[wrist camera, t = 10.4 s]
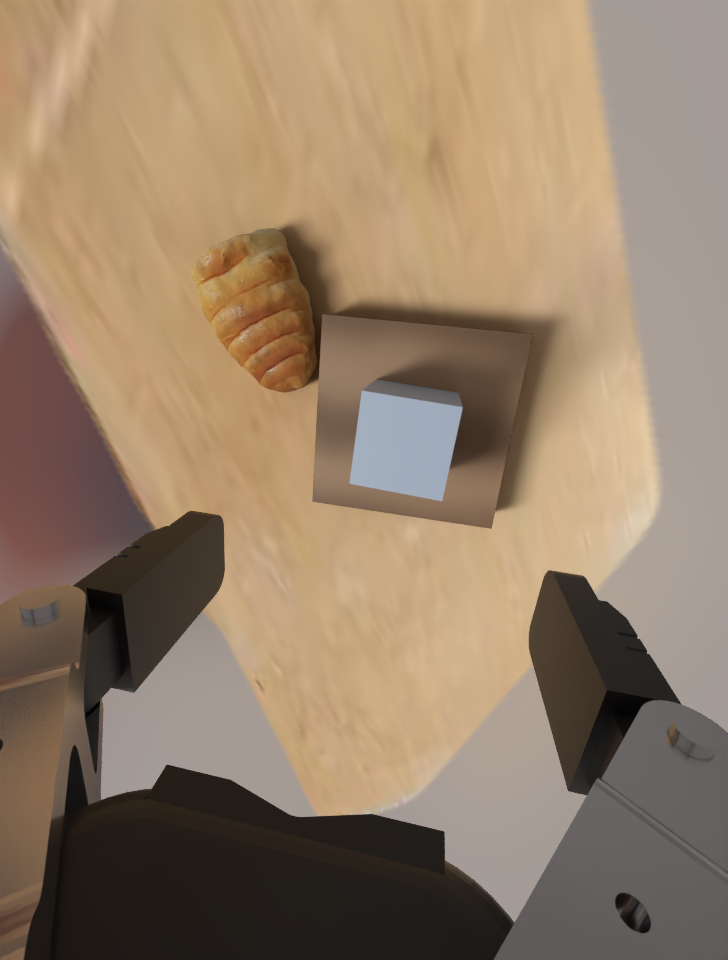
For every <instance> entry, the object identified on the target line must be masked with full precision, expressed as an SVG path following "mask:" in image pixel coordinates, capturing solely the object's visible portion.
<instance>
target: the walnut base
mask: <svg viewBox="0 0 728 960" xmlns="http://www.w3.org/2000/svg"><path fill="white" fill-rule="evenodd" d="M532 337H533V334H525V333H514V332H504V331H493V330H483V329H472V328H462V327H451V326H441V325H430V324H420V323H409V322H399V321H388V320H378V319H367V318H357V317H346V316H336V315H325V314H322V329H321V348H320V367H319V386H318V405H317V424H316V443H315V463H314V482H313V501H312V502H319V503H325V504H332V505H338V506H345V507H352V508H358V509H365V510H371V511H378V512H385V513H391V514H398V515H405V516H411V517H418V518H424V519H431V520H438V521H444V522H451V523H457V524H464V525H471V526H477V527H484V528H492V523H493V519H494V514H495V509H496V505H497V500H498V495H499V491H500V486H501V481H502V477H503V472H504V467H505V463H506V458H507V453H508V449H509V444H510V439H511V435H512V430H513V425H514V421H515V416H516V411H517V407H518V402H519V397H520V393H521V388H522V384H523V379H524V374H525V370H526V365H527V360H528V356H529V351H530V346H531V342H532ZM376 379H377V380H383V381H389V382H395V383H401V384H408V385H414V386H420V387H426V388H432V389H438V390H445V391H451V392H457V393H459V396H460V399H461V403H462V406H463V409H462V414H461V418H460V423H459V427H458V432H457V436H456V441H455V445H454V450H453V454H452V459H451V464H450V468H449V473H448V477H447V482H446V486H445V491H444V495H443V500H442V501H438V500H433V499H428V498H422V497H417V496H412V495H406V494H401V493H396V492H391V491H385V490H380V489H375V488H370V487H364V486H359V485H354V484H349V483H350V475H351V468H352V460H353V453H354V446H355V438H356V431H357V423H358V416H359V408H360V401H361V393H362V390H363V389H364V388H366V387H367V386H368V385H369V384H371V383H372V382H373V381H374V380H376Z"/></svg>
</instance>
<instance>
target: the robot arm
mask: <svg viewBox="0 0 728 960" xmlns="http://www.w3.org/2000/svg"><path fill="white" fill-rule="evenodd" d="M224 571H225V561H224V523H223V519H222V517H221V516H219V515H214V514H208V513H202V512H196V511H189V512H187V513H186V514H185V515H183V516H182V517H180V518H179V519H178V520H176V521H175V522H174V523H172V524H171V525H170V526H165V527H163V528H160V529H157V530H155V531H152V532H150V533H147V534H145V535H144V536H142V537H141V538H140V539H138V540H137V541H135V542H134V543H132V544H131V546H130V547H127V548H126V549H124V550H123V551H121V552H120V553H118V556H114V557H113V558H111V559H110V560H109V561H107V562H106V563H104V564H103V565H101V566H100V567H99V568H97V569H96V570H94V571H93V572H92V573H90V574H89V575H87V576H86V577H85V578H83V579H82V580H80V581H79V582H78V583H76V584H75V585H73V586H70V585H49V586H43V587H38V588H35V589H31V590H28V591H25V592H22V593H20V594H18V595H16V596H14V597H12V598H10V599H8V600H7V601H5V602H4V603H2V604H1V605H0V960H728V733H727V732H726V731H725V730H724V729H723V728H721V727H720V726H719V725H718V724H716V723H715V722H713V721H712V720H711V719H709V718H707V717H706V716H704V715H702V714H701V713H699V712H697V711H695V710H693V709H691V708H689V707H686V706H683V705H682V704H681V703H680V701H679V700H678V698H677V697H676V695H675V694H674V692H673V690H672V689H671V687H670V686H669V684H668V683H667V681H666V679H665V678H664V676H663V675H662V673H661V672H660V670H659V668H658V667H657V665H656V664H655V662H654V661H653V659H652V658H651V656H650V654H647V650H646V648H645V647H644V645H643V643H642V642H641V641H640V639H637V634H636V633H635V631H634V629H633V628H632V626H631V625H630V623H629V621H628V620H627V619H626V617H624V616H623V615H622V614H621V613H619V611H617V610H616V609H615V608H614V607H613V606H612V605H610V604H609V603H608V602H606V601H600V600H598V599H597V597H596V595H595V593H594V591H593V590H592V588H591V586H590V585H589V583H588V581H587V579H586V578H585V577H584V576H581V575H575V574H569V573H563V572H557V571H551V570H550V571H548V572H547V573H546V574H545V576H544V579H543V582H542V586H541V589H540V593H539V597H538V600H537V604H536V607H535V611H534V614H533V618H532V621H531V625H530V631H529V650H530V655H531V658H532V662H533V666H534V669H535V673H536V676H537V680H538V684H539V687H540V691H541V694H542V698H543V702H544V705H545V709H546V713H547V716H548V719H549V723H550V727H551V731H552V734H553V738H554V741H555V745H556V749H557V752H558V756H559V760H560V763H561V767H562V770H563V774H564V778H565V781H566V785H567V789H568V791H571V792H575V793H579V794H584V795H587V797H586V798H585V800H584V802H583V804H582V805H581V807H580V809H579V811H578V812H577V814H576V816H575V818H574V820H573V821H572V823H571V825H570V826H569V828H568V830H567V832H566V833H565V835H564V837H563V839H562V840H561V842H560V844H559V846H558V847H557V849H556V851H555V853H554V855H553V856H552V858H551V860H550V862H549V863H548V865H547V867H546V869H545V870H544V872H543V874H542V876H541V878H540V879H539V881H538V883H537V885H536V886H535V888H534V890H533V891H532V893H531V895H530V897H529V899H528V900H527V902H526V904H525V906H524V907H523V909H522V911H521V913H520V914H519V916H518V918H517V920H516V921H515V923H514V922H513V920H512V919H511V918H510V916H509V915H508V914H507V913H506V912H505V911H504V910H503V908H502V907H501V906H500V905H499V904H498V903H497V902H496V901H495V900H494V898H493V897H492V896H491V895H490V894H489V893H488V892H486V891H485V890H484V889H483V888H482V887H481V886H480V885H479V884H478V883H477V882H475V881H474V880H473V879H472V878H470V877H469V876H468V875H466V874H465V873H464V872H462V871H461V870H460V869H458V868H457V867H455V866H454V865H452V864H450V863H448V862H447V861H445V848H444V847H445V842H444V841H445V837H444V832H443V831H440V830H435V829H431V828H427V827H423V826H419V825H415V824H411V823H407V822H402V821H398V820H394V819H390V818H386V817H382V816H377V815H373V814H364V815H341V816H318V817H295V816H291V815H289V814H287V813H285V812H284V811H282V810H280V809H279V808H277V807H275V806H274V805H272V804H270V803H269V802H267V801H265V800H264V799H262V798H260V797H258V796H257V795H255V794H253V793H252V792H250V791H248V790H247V789H245V788H243V787H242V786H240V785H238V784H237V783H235V782H233V781H232V780H229V779H224V778H220V777H216V776H212V775H208V774H204V773H200V772H195V771H191V770H187V769H183V768H179V767H175V766H171V765H166V767H165V769H164V770H163V772H162V773H161V775H160V777H159V778H158V780H157V781H156V783H155V785H154V786H153V788H152V789H144V790H138V791H132V792H126V793H122V794H119V795H116V796H112V797H108V798H106V799H103V800H101V768H102V738H103V702H102V697H103V696H104V695H105V694H106V693H107V692H108V691H109V689H110V688H115V689H120V690H125V691H129V692H133V693H134V692H135V691H136V690H137V689H138V687H139V686H140V685H141V684H142V683H143V681H144V680H145V679H146V678H147V677H148V675H149V674H150V673H151V672H152V671H153V669H154V668H155V667H156V666H157V664H158V663H159V662H160V661H161V660H162V658H163V657H164V656H165V655H166V654H167V652H168V651H169V650H170V649H171V647H172V646H173V645H174V644H175V643H176V642H177V640H178V639H179V638H180V637H181V635H182V634H183V633H184V632H185V631H186V629H187V628H188V627H189V626H190V625H191V624H192V622H193V621H194V620H195V619H196V618H197V616H198V615H199V614H200V613H201V612H202V610H203V609H204V608H205V607H206V606H207V604H208V603H209V602H210V601H211V600H212V598H213V597H214V596H215V595H216V593H217V592H218V590H219V589H220V587H221V584H222V581H223V577H224Z"/></svg>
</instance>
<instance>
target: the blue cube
mask: <svg viewBox="0 0 728 960" xmlns="http://www.w3.org/2000/svg"><path fill="white" fill-rule="evenodd" d="M462 409H463V406H462V403H461V399H460V396H459V393H457V392H451V391H445V390H438V389H432V388H426V387H420V386H414V385H408V384H401V383H395V382H389V381H383V380H377V379H376V380H374V381H373V382H372V383H371V384H369V385H368V386H367V387H366V388H364V389H363V390H362V393H361V401H360V408H359V416H358V423H357V431H356V438H355V446H354V453H353V460H352V468H351V475H350V483H349V484H354V485H359V486H364V487H370V488H375V489H380V490H385V491H391V492H396V493H401V494H406V495H412V496H417V497H422V498H428V499H433V500H438V501H442V500H443V495H444V491H445V486H446V482H447V477H448V473H449V468H450V464H451V459H452V454H453V450H454V445H455V441H456V436H457V432H458V427H459V423H460V418H461V414H462Z"/></svg>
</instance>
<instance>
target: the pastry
mask: <svg viewBox="0 0 728 960" xmlns="http://www.w3.org/2000/svg"><path fill="white" fill-rule="evenodd" d="M192 278H193V280H194V281H195V283H196V284H197V287H198V291H199V295H200V300H201V303H202V309H203V312H204V315H205V317H206V319H207V320H208V321H209V323H210V324H211V326H212V327H213V329H214V330H215V333H216V335H217V337H218V338H219V340H220V342H221V343H222V344H223V345H224V346H225V347H226V349H227V351H228V353H229V354H230V355H231V356H233V357H234V358H235V359H236V361H237V362H238V363H239V364H240V366H242V367H244V368H245V369H246V370H247V371H249V372H250V373H251V374H252V375H253V377H254V378H255V379H256V380H257V381H258V382H259V384H260V385H262V386H263V387H265V388H267V389H271V390H275V391H279V392H291V391H294V390H297V389H299V388H301V387H304V386H305V385H307V384H308V382H309V380H310V378H311V376H312V374H313V372H314V370H315V368H316V365H317V356H316V347H315V329H314V324H313V320H312V309H311V306H310V297H309V294H308V291H307V289H306V288H305V287H304V286H303V285H302V284H301V281H300V279H299V274H298V272H297V267H296V265H295V263H294V260H293V259H292V257H291V255H290V253H289V251H288V248H287V242H286V239H285V237H284V235H283V234H282V233H281V232H280V231H279V230H276V229H262V230H256V231H254V232H252V233H250V234H244V235H239V236H236V237H234V238H232V239H229V240H227V241H224V242H222V243H220V244H218V245H216V246H214V247H212V248H210V249H209V250H208V251H207V252H206V253H205V255H204V256H202V257H200V258H199V259H198V260H197V262H196V263H195V266H194V268H193V277H192Z"/></svg>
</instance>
